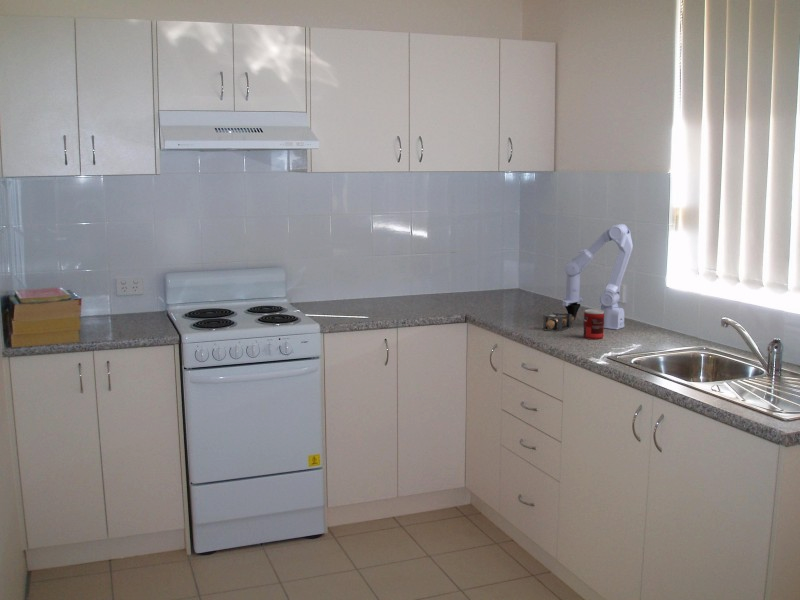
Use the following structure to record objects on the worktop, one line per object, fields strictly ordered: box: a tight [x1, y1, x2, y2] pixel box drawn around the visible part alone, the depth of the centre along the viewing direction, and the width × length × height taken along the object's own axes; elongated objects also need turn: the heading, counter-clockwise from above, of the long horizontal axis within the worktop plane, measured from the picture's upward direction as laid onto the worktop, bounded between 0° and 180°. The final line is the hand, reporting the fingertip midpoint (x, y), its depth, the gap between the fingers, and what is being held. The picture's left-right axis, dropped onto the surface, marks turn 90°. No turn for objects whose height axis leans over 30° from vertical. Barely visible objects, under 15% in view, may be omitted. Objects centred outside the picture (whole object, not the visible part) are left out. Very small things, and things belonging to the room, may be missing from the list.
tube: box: [546, 315, 575, 329], centre depth 354 cm, size 4×18×4 cm, turn 140°
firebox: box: [541, 311, 573, 332], centre depth 352 cm, size 8×12×6 cm, turn 140°
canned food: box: [583, 308, 605, 341], centre depth 332 cm, size 8×8×11 cm
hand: (572, 320), depth 362 cm, fingers closed
